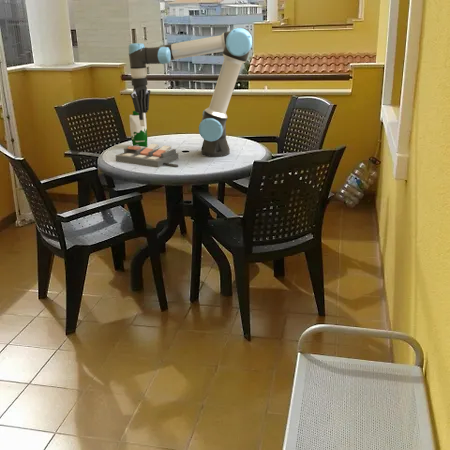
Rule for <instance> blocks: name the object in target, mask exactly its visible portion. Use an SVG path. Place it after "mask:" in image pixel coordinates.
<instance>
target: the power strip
mask: <svg viewBox="0 0 450 450" xmlns="http://www.w3.org/2000/svg"><path fill="white" fill-rule="evenodd" d="M134 146H139V145H134ZM148 146H149V145H147V147H148ZM147 147H144V148H142V149H139V150H134V149H128V147H125V148H124V149H123V152H122V153H121V152H120V153H118V154H116V155H115V161H116V162H119V163H120V162H121V163H125V164H126V163H127V164H135V165H139V166H147V167H153V168H160V167H162V166H167V167H175V168H178V167H179V165H178V164H176V163H173V162H174V161H178V160H179V153H178V152H177V151H176V150H177V149H176V148H171V149H170V150H169V151H167V152H164V153H162V154H161V157H157V156H153V153H154V152H156V151H157V150H158V149H160V148H161V147H158V148H156V149H155V150H153V151H150V152H148V153H149V155H148V156H147V155H141V154H140V152H141V151H143V150H144V149H145V148H147Z"/></svg>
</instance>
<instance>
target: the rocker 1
mask: <svg viewBox="0 0 450 450" xmlns="http://www.w3.org/2000/svg"><path fill="white" fill-rule="evenodd" d="M127 148H128V149H134V150H139V149H142V148H144V147H143V146H133V145H132V146H131V145H130V146H129V145H128V146H127Z"/></svg>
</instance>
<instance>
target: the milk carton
mask: <svg viewBox="0 0 450 450" xmlns="http://www.w3.org/2000/svg"><path fill="white" fill-rule="evenodd" d="M129 129H130V138H131V143H132V146H134V145H139V146H143V147H147V146H148V131H147V130H148V129H147V126H145V127H144V126H140V119H139V113H137V112H135V110H132V114H129Z"/></svg>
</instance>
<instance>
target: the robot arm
mask: <svg viewBox="0 0 450 450" xmlns="http://www.w3.org/2000/svg"><path fill="white" fill-rule="evenodd" d="M253 41H254V40H253V35H252V33H251V32H250V31H249V29H247V28H245V27H237V28H234V29H232V30H229V31H225V32H222V34H220V35H213V36H210V37H203V38H199V39H191V40H185V41H180V42H175V43H170V44H162V45H159V46H156V47H153V46H152V47H145V44H144V43H143V42H141V43H139V42H137V43H135V42H134V43H130V44H128V58H129V67H130V68H129V69H130V77H131V79H130V80H131V86H132V87H133V89H132V90H133V92H132V93H131V92H130V94H129V95H130V97H131V99H132V104H133V107H134V111H135V112H137V113H139V119H140V126H144V127H145V126H146V127H147V113H148V111H149V108H150V107H149V106H150V95H151V90H149V89H148V88H147V86H148V78H147V76H148V71H147V65H165V64H170V63H171V61H174V60H178V59H180V60H181V59H185V58H186V59H187V58H192V57H197V56H204V55H210V54H216V53H217V54H218V53H221V52H222V56H223V62H222V65H221V68H220V71H219V74H218V78H217V81H216V85H215V87H214V90H213V93H212V96H211V97H212V98H211V100H210V103H209V107H207V108H205V109H204V110H203V111H202V119H201V121H200V123H199V125H198V133H199V136H200V137H201V138H202V139H203V142H202V145H201V148H200V154H201V156H204V157H210V158H212V157H213V158H219V157H225V156H227V155H230V154H231V153H230V152H231V151H230V145H229V144H228V140H227V128H226V127H227V126H226V125H227V121H228V115H227V110H228V107H229V104H230V101H231V98H232V95H233V92H234V90H235V86H236V83H237V81H238V78H239V74H240V71H241V68H242V65H243V64H245V63H246V62H247V60H248V58H249V55H250V51H251V49H252V47H253V44H254V42H253Z"/></svg>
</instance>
